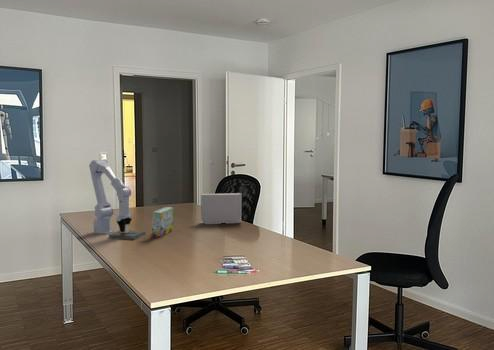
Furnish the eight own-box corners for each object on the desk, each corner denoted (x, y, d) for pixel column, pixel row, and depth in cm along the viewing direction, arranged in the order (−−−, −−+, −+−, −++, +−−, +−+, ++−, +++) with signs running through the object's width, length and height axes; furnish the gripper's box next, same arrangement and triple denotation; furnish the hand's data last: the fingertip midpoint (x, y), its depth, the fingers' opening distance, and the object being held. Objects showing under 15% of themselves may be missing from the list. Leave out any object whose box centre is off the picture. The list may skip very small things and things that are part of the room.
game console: (241, 223, 320) (242, 194, 318) (202, 224, 313) (202, 195, 311) (240, 221, 325) (240, 193, 324) (200, 222, 319) (201, 193, 317)
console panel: (109, 238, 271) (109, 234, 271) (121, 233, 284) (121, 229, 284) (134, 239, 267) (134, 236, 267) (145, 234, 281) (145, 231, 280)
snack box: (160, 238, 273) (160, 212, 271) (151, 237, 274) (151, 212, 272) (173, 230, 293) (173, 206, 292) (165, 230, 294) (164, 206, 293)
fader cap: (119, 232, 275) (119, 225, 274) (122, 231, 278) (122, 223, 278) (125, 233, 274) (125, 225, 273) (129, 231, 277) (129, 224, 277)
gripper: (124, 210, 267) (124, 234, 268) (136, 206, 281) (136, 229, 282) (113, 209, 268) (113, 233, 270) (125, 206, 282) (125, 228, 284)
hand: (124, 231), depth 276 cm, fingers closed on fader cap, 4 cm apart
